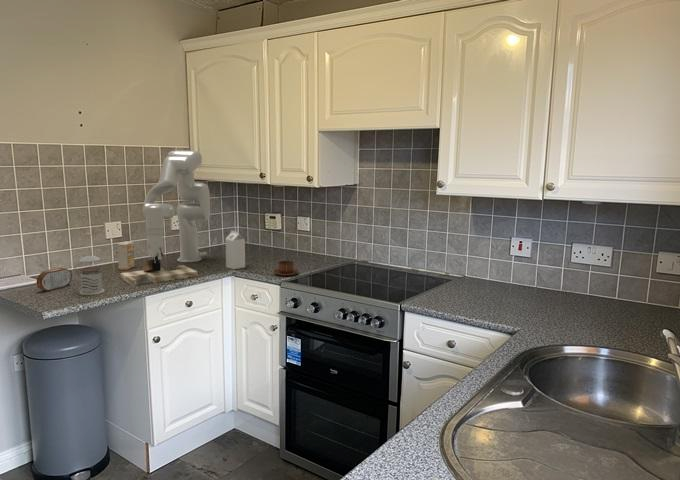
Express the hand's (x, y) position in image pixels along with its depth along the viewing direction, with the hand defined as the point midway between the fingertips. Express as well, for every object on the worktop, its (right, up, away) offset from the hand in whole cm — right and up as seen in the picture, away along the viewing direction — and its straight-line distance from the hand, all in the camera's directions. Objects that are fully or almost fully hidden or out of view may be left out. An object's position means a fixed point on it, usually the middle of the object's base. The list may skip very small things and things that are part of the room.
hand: (156, 270), depth 234 cm
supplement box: (-22, 0, +19) cm, 29 cm away
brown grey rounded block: (-36, -7, -20) cm, 42 cm away
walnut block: (-3, 0, +2) cm, 4 cm away
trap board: (+1, -3, +1) cm, 4 cm away
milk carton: (+32, 0, +25) cm, 40 cm away
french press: (-19, -7, -25) cm, 32 cm away
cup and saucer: (+59, -3, +12) cm, 60 cm away
